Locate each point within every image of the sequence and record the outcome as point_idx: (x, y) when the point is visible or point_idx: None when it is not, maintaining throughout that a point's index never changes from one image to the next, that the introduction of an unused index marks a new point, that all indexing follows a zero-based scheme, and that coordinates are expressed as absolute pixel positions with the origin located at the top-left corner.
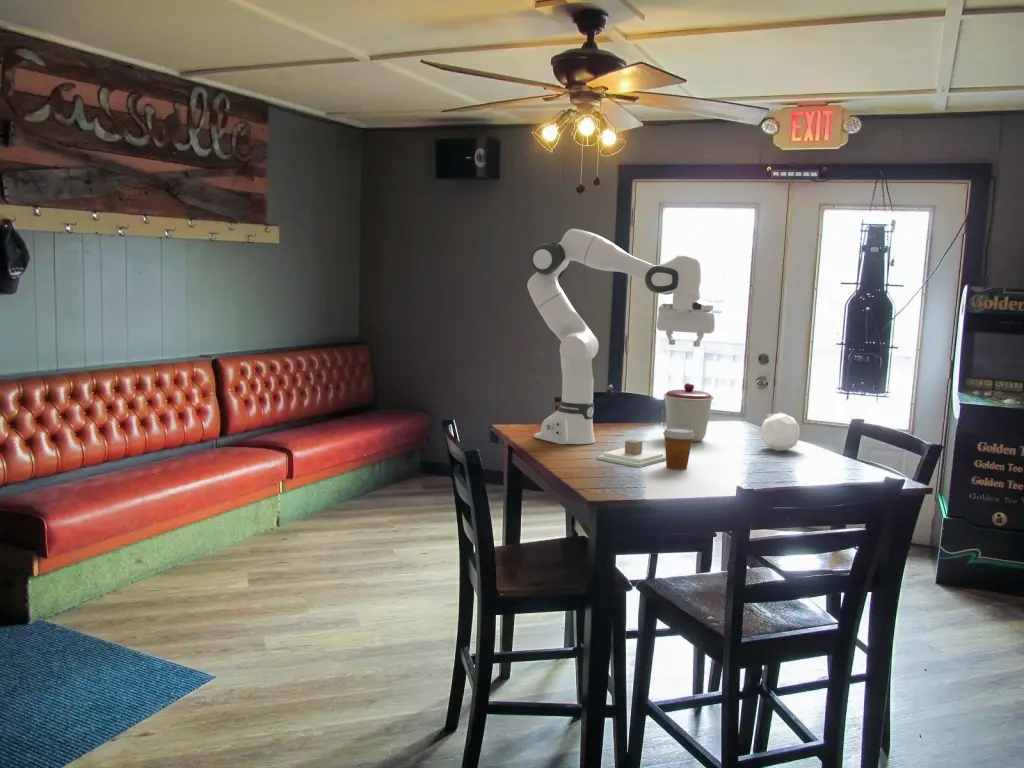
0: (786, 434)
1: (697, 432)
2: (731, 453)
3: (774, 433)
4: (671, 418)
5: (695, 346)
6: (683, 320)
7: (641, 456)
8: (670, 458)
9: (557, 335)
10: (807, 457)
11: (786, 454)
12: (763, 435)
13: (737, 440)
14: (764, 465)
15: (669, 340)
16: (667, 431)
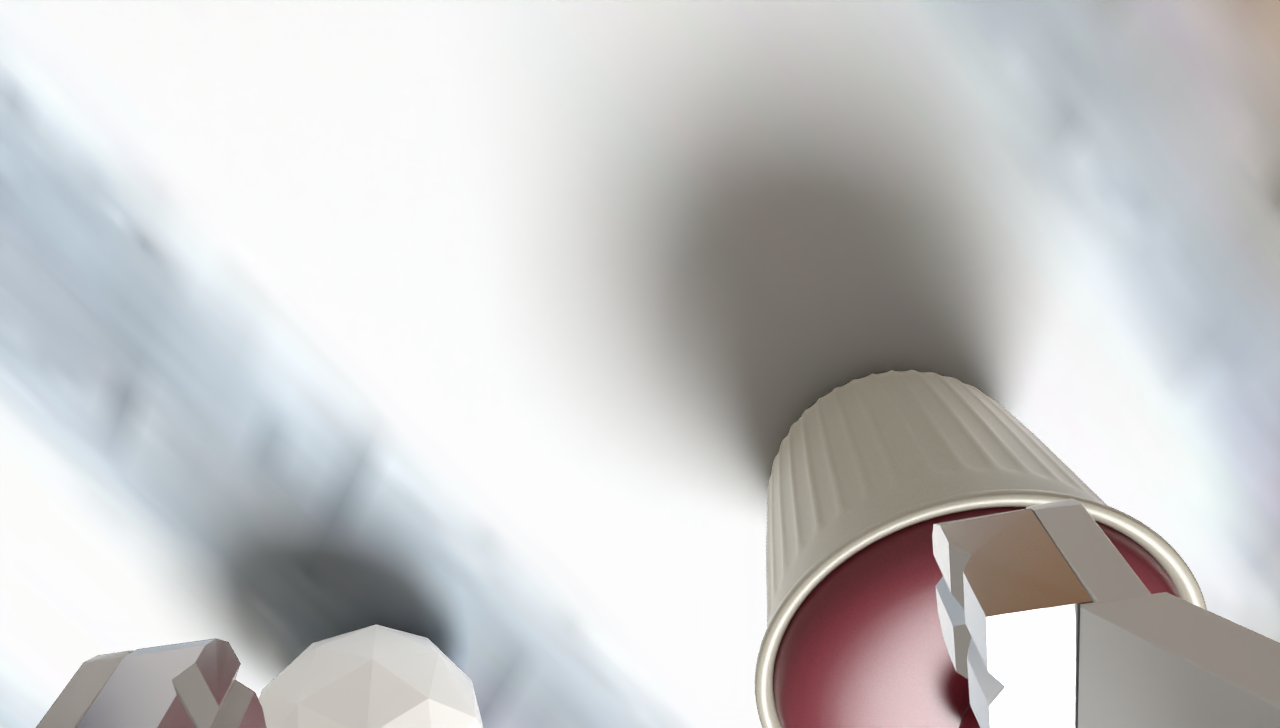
0: (259, 700)
1: (775, 471)
2: (433, 374)
3: (314, 671)
4: (970, 420)
5: (174, 648)
6: None
7: None
8: None
9: None
10: (184, 638)
11: (286, 611)
12: (409, 657)
13: (695, 686)
14: (67, 263)
15: (1104, 573)
16: None
